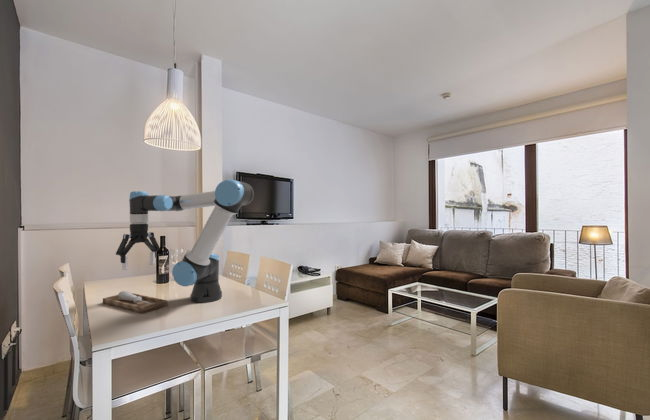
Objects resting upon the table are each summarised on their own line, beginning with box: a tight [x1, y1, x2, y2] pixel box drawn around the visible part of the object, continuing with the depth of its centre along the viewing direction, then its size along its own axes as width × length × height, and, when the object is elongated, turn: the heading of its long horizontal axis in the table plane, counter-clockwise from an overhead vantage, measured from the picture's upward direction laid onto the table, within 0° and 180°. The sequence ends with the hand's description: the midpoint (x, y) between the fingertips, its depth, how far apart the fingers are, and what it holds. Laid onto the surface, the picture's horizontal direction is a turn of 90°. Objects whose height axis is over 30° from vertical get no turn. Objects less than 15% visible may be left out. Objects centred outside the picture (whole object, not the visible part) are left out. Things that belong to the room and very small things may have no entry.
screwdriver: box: [117, 290, 151, 305], centre depth 142 cm, size 5×25×4 cm, turn 62°
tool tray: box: [102, 292, 168, 314], centre depth 142 cm, size 30×12×2 cm, turn 64°
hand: (139, 267), depth 144 cm, fingers open, 13 cm apart
